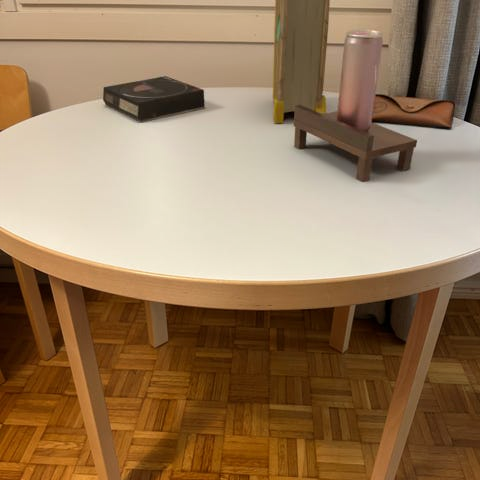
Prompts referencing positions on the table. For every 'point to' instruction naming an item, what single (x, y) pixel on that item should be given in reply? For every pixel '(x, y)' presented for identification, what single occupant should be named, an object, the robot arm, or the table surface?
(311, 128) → the wooden step stool
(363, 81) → the beverage can
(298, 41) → the decorative book
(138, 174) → the table surface
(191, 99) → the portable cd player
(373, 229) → the table surface
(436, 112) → the sunglasses case
